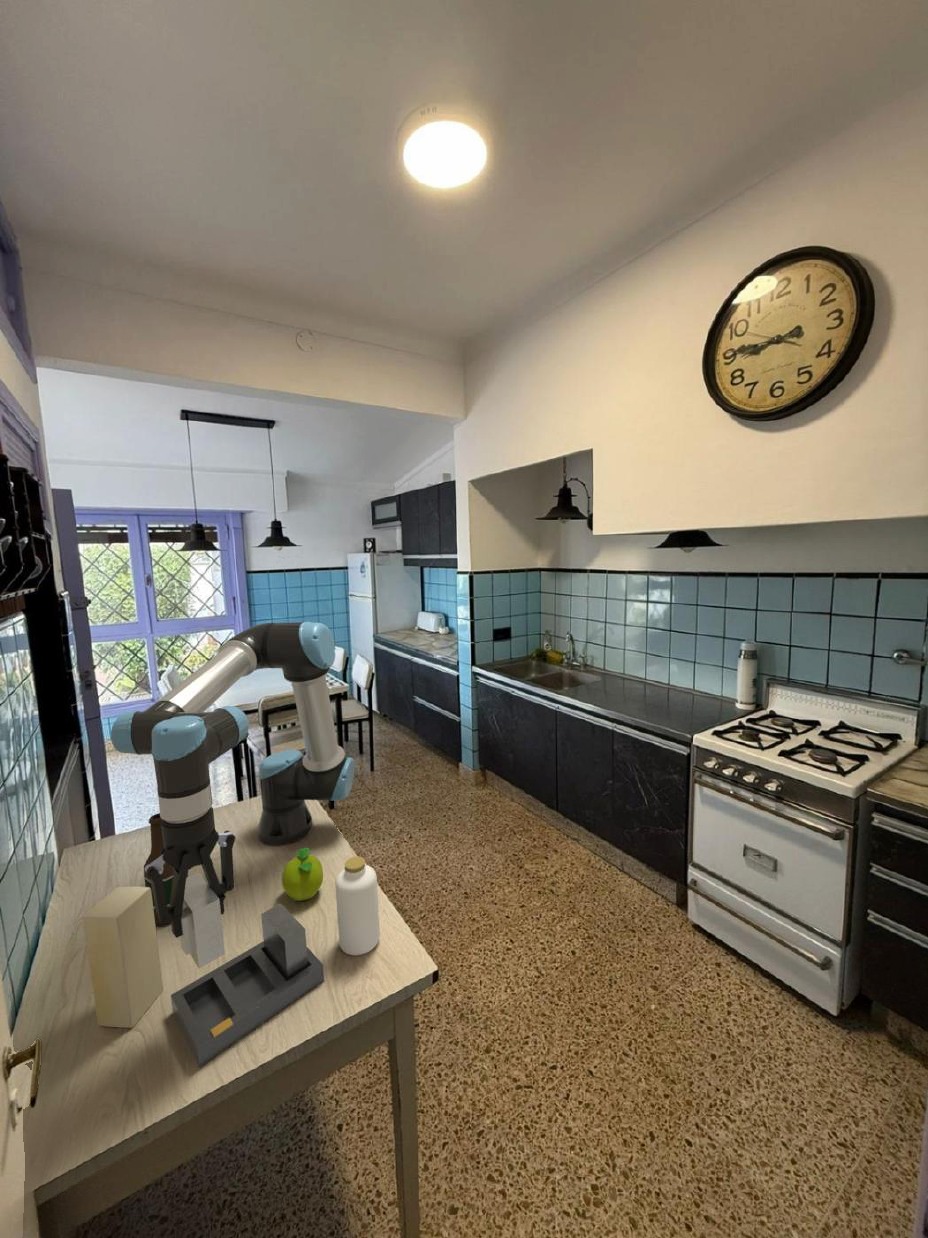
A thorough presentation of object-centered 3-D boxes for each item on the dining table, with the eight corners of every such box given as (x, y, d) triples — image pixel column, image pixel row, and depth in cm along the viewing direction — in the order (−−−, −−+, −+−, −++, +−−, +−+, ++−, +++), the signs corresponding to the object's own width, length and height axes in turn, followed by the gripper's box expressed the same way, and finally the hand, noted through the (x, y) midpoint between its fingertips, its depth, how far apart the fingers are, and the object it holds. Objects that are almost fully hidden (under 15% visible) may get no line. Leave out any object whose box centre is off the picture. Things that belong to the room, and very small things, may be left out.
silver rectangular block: (204, 923, 89) (198, 872, 88) (224, 954, 82) (219, 899, 81) (179, 936, 86) (173, 883, 85) (198, 969, 79) (192, 912, 78)
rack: (289, 941, 104) (285, 893, 102) (324, 981, 94) (320, 928, 93) (172, 1012, 88) (166, 957, 87) (199, 1068, 79) (192, 1007, 77)
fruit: (323, 879, 124) (320, 842, 122) (324, 904, 115) (322, 864, 114) (284, 887, 121) (281, 849, 120) (282, 913, 112) (279, 873, 111)
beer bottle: (171, 929, 108) (159, 826, 105) (141, 925, 110) (128, 823, 107) (197, 904, 116) (186, 808, 113) (168, 900, 117) (157, 805, 114)
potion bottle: (388, 941, 103) (383, 861, 101) (353, 965, 97) (348, 881, 95) (365, 921, 109) (360, 845, 107) (331, 943, 103) (326, 863, 101)
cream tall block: (128, 986, 94) (114, 885, 91) (164, 989, 93) (151, 886, 90) (93, 1026, 86) (77, 916, 83) (132, 1029, 85) (117, 918, 83)
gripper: (232, 786, 90) (243, 905, 93) (119, 825, 78) (137, 959, 81) (249, 800, 84) (260, 925, 88) (131, 844, 72) (149, 986, 76)
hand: (201, 941), depth 84 cm, fingers closed on silver rectangular block, 4 cm apart
